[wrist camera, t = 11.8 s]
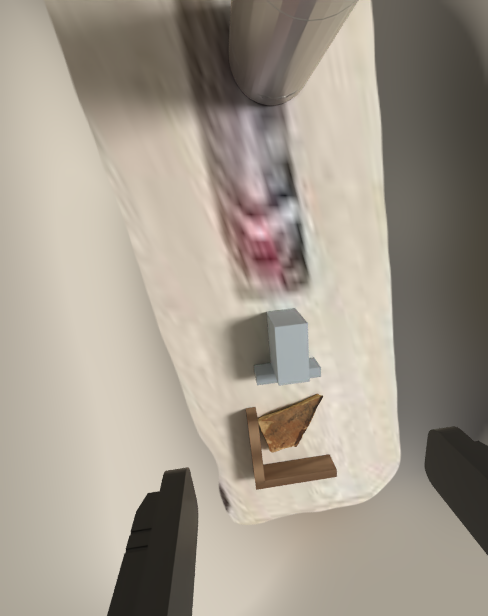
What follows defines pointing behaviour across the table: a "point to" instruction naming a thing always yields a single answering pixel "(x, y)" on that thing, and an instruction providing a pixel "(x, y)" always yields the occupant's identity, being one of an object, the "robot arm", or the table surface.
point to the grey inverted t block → (287, 350)
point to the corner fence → (284, 463)
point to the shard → (288, 424)
